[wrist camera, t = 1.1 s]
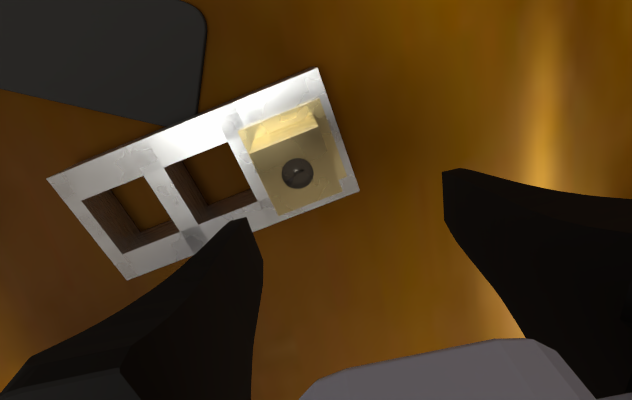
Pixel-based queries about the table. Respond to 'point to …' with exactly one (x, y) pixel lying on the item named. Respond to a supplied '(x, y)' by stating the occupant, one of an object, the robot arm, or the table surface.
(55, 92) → the phone
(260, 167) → the tan block with hole
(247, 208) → the slotted metal bracket
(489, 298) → the table surface
